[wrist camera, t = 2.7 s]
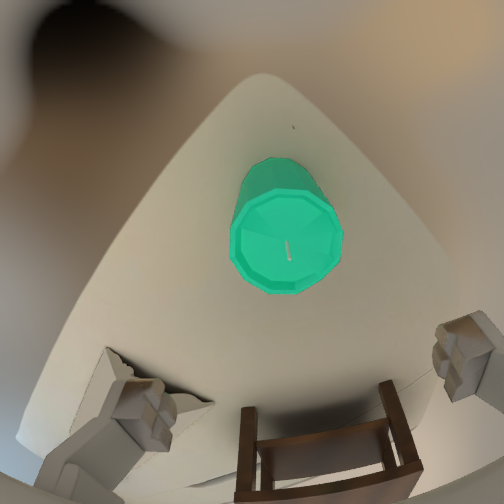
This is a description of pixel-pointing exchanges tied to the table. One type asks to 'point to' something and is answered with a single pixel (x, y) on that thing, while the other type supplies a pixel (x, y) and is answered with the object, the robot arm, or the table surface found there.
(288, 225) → the candle
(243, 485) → the stand
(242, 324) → the table surface
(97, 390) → the molding piece
